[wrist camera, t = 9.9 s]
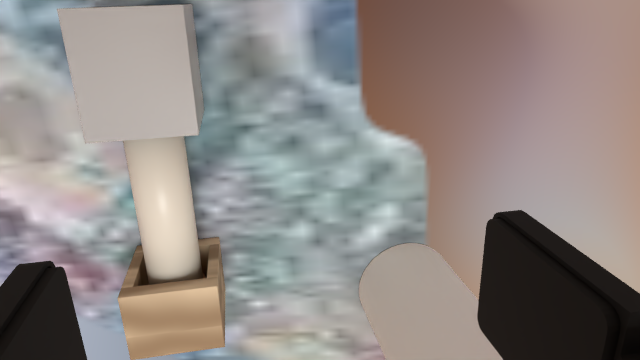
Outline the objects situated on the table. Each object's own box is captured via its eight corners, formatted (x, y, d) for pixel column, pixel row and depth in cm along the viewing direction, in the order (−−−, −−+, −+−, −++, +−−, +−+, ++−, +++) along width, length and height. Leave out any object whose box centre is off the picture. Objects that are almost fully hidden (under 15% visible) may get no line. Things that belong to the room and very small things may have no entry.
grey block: (93, 7, 35) (56, 8, 28) (192, 4, 36) (182, 4, 29) (113, 115, 38) (85, 143, 30) (204, 109, 39) (198, 134, 31)
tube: (122, 106, 36) (108, 120, 32) (185, 102, 37) (180, 115, 32) (153, 279, 41) (144, 311, 37) (207, 273, 42) (205, 303, 38)
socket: (137, 245, 42) (117, 298, 34) (219, 237, 43) (217, 286, 35) (147, 299, 44) (130, 359, 36) (225, 289, 45) (224, 346, 37)
